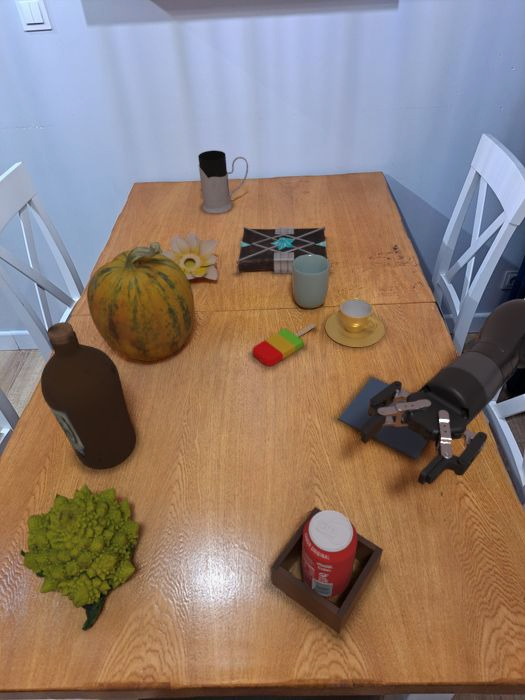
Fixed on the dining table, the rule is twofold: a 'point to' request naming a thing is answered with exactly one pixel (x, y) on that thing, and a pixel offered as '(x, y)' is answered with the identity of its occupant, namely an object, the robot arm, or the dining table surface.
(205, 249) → the decorative flower
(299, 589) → the can holder
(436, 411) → the robot arm
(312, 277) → the cup
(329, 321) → the cup
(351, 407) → the mat
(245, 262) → the book
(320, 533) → the beverage can
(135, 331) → the pumpkin
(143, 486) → the dining table surface
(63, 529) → the vegetable
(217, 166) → the glass holder
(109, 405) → the olive oil
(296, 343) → the popsicle
